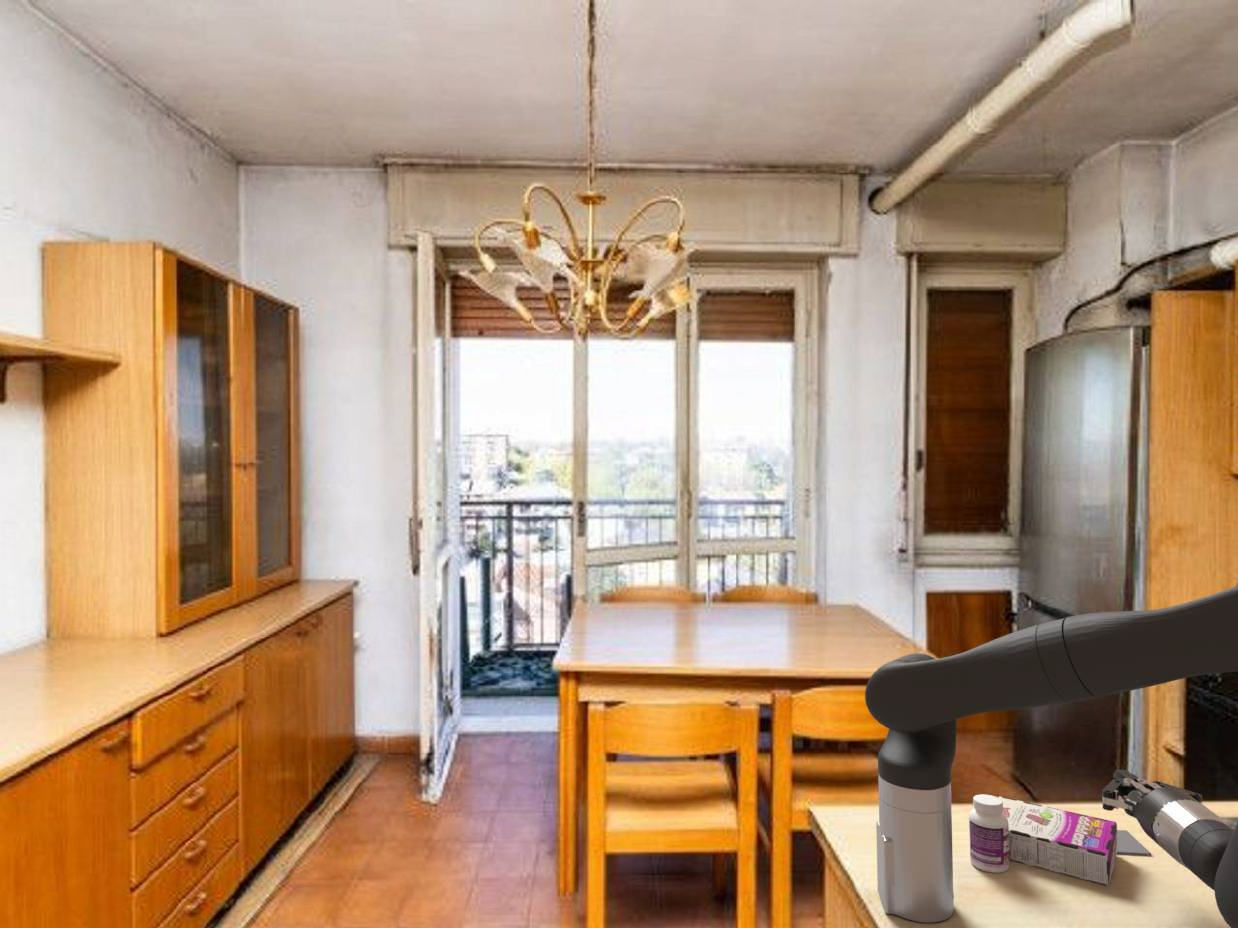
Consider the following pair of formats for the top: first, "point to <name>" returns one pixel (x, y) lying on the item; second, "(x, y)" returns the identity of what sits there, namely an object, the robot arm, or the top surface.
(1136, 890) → the top surface
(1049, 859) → the candy bar box
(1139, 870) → the top surface
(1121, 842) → the mat
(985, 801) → the pill bottle
